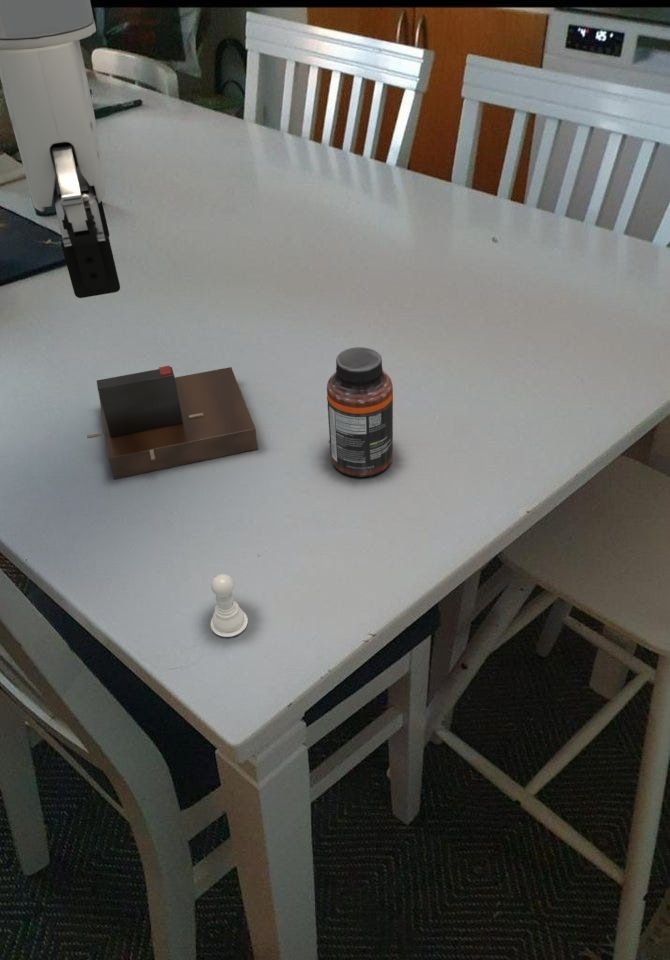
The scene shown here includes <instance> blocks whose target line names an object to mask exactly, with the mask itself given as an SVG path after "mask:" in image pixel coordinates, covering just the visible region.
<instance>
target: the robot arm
mask: <svg viewBox="0 0 670 960" xmlns="http://www.w3.org/2000/svg"><path fill="white" fill-rule="evenodd" d="M96 32H97V27H96V22H95V18H94V13H93V7H92V3H91V0H0V82H1V87H2V91H3V95H4V99H5V103H6V107H7V110H8V115H9V118H10V122H11V125H12V129H13V133H14V136H15V141H16V144H17V148H18V151H19V155H20V160H21V162H22V167H23V170H24V175H25V178H26V182H27V186H28V189H29V194H30V198H31V202H32V206H33V208H34V209H36V210H37V211H39V212H41V213H43V212H45V211H46V210H45V209H46V208H50V207H53V205H54V207H55V212H56V217H57V221H58V225H59V226H58V227H59V230H60V234H61V239H62V242H60V244H61V245H60V246H61V249H62V253H63V257H64V261H65V264H66V267H67V271H68V275H69V278H70V283H71V285H72V290H73V293H74V296H75V297H76V298H78V299H84V298H91V297H96V296H102V295H108V294H115V293H118V292H119V291H120V289H121V284H120V280H119V276H118V272H117V266H116V263H115V258H114V253H113V250H112V249H113V248H112V245H111V241H110V231H109V227H108V222H107V218H106V213H105V210H104V205H103V200H104V199H105V197H106V190H105V189H106V188H105V180H104V169H103V161H102V152H101V147H100V139H99V133H98V127H97V122H96V116H95V111H94V110H95V109H94V104H93V100H92V95H91V90H90V85H89V81H88V80H89V79H88V75H87V71H86V70H87V69H86V66H85V61H84V56H83V53H82V47H81V43H80V40H83V39H86V38H88V37H91V36H92V35H93V34H95V33H96Z"/></svg>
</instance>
